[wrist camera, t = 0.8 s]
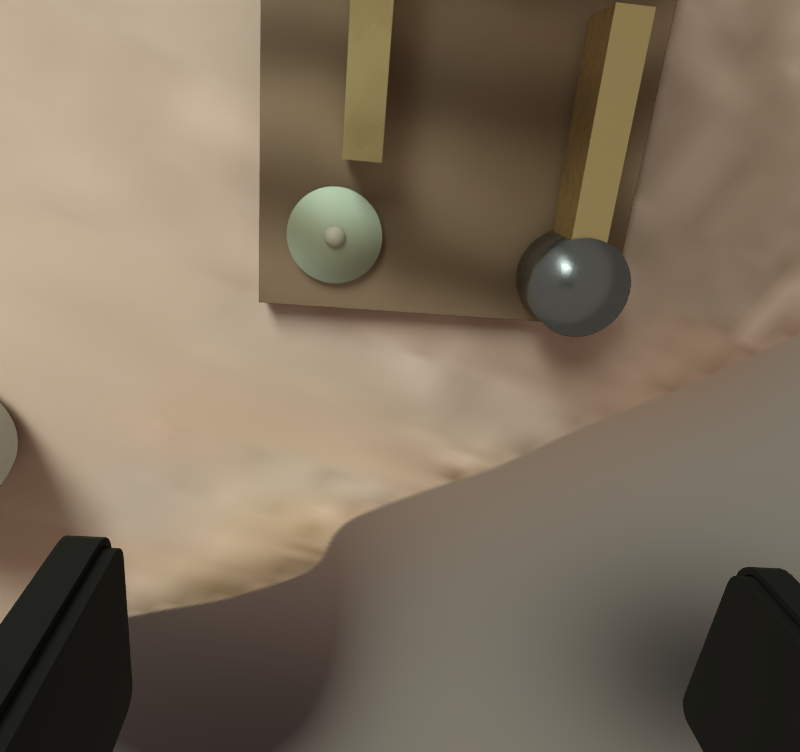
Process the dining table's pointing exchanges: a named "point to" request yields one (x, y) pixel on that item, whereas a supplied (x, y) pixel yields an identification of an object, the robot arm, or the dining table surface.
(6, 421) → the cup
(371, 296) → the base plate
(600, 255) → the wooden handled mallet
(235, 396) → the dining table surface
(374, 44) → the ball knob lever
